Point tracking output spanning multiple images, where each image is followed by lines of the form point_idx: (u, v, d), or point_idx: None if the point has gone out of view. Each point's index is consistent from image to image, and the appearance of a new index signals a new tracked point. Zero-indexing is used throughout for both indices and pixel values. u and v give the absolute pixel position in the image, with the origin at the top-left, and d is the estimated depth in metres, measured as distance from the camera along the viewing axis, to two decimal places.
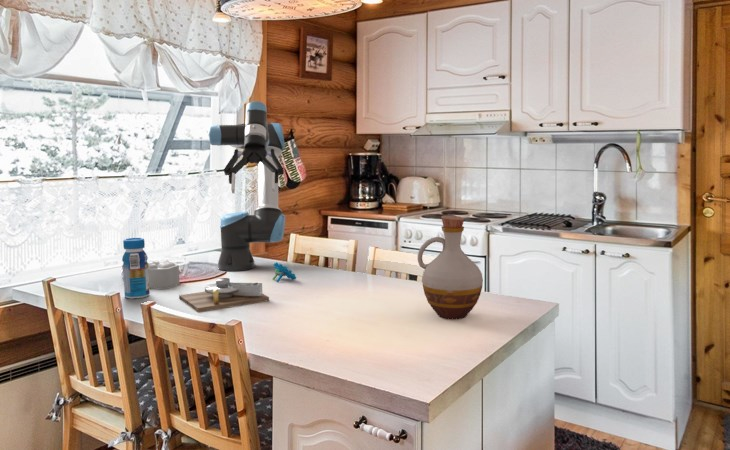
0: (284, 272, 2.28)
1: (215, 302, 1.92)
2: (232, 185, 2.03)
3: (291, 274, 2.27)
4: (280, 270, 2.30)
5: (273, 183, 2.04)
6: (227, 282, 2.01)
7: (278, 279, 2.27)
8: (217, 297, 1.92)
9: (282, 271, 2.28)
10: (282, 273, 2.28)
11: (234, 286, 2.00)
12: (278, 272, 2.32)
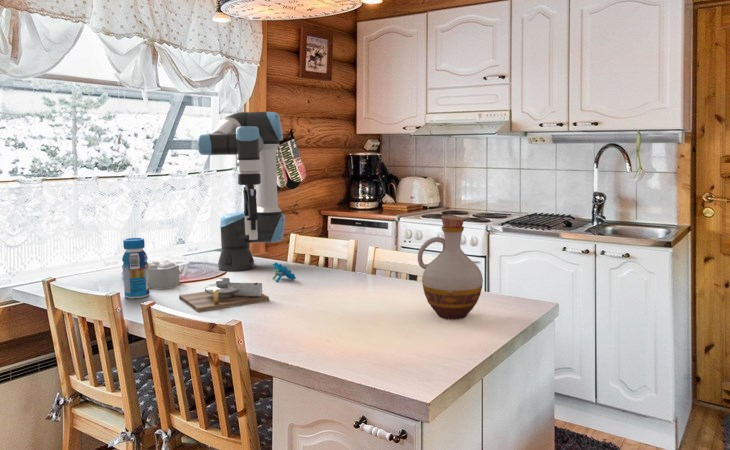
0: (284, 272, 2.28)
1: (215, 302, 1.92)
2: (245, 230, 2.10)
3: (291, 274, 2.27)
4: (280, 270, 2.30)
5: (249, 233, 1.99)
6: (227, 282, 2.01)
7: (278, 279, 2.27)
8: (217, 297, 1.92)
9: (282, 271, 2.28)
10: (282, 273, 2.28)
11: (234, 286, 2.00)
12: (278, 272, 2.32)
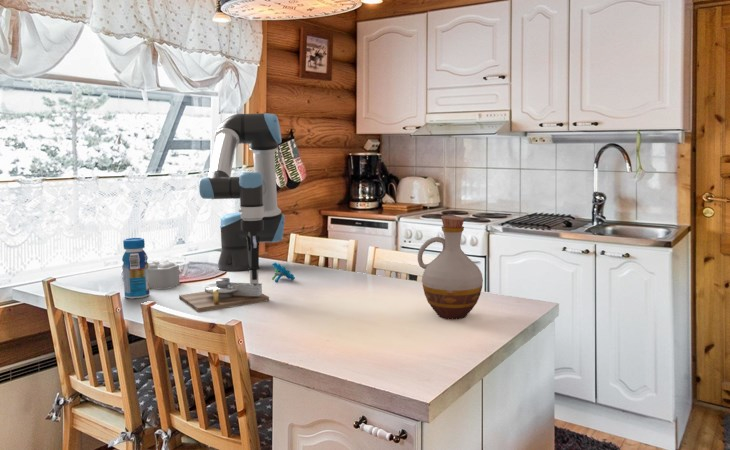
0: (283, 272, 2.28)
1: (215, 302, 1.92)
2: None
3: (290, 274, 2.27)
4: (279, 270, 2.30)
5: None
6: (227, 282, 2.00)
7: (277, 279, 2.27)
8: (217, 297, 1.92)
9: (281, 271, 2.28)
10: (281, 273, 2.28)
11: (234, 286, 2.00)
12: (277, 272, 2.32)
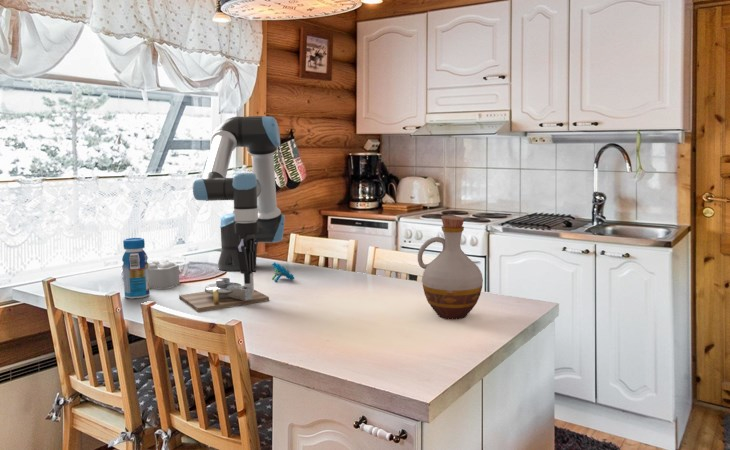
0: (282, 272, 2.28)
1: (215, 302, 1.92)
2: None
3: (289, 274, 2.27)
4: (279, 270, 2.30)
5: None
6: (224, 283, 2.00)
7: (276, 279, 2.27)
8: (217, 297, 1.92)
9: (280, 271, 2.28)
10: (280, 273, 2.27)
11: (227, 287, 1.98)
12: (277, 272, 2.32)
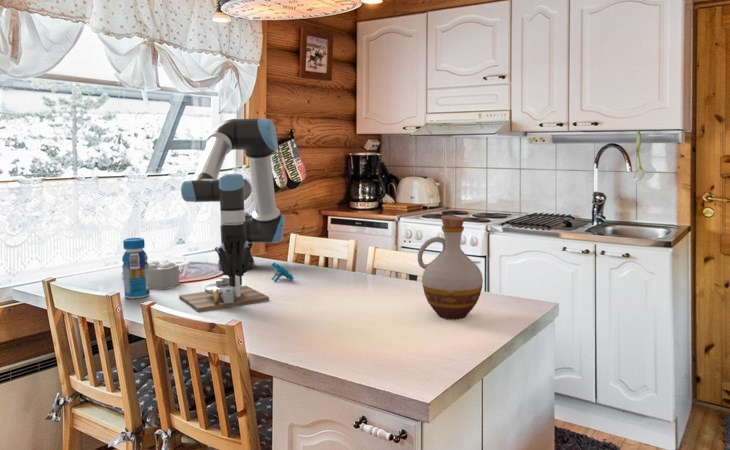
0: (282, 272, 2.28)
1: (215, 302, 1.92)
2: None
3: (288, 274, 2.27)
4: (278, 270, 2.30)
5: None
6: (220, 283, 2.00)
7: (275, 279, 2.27)
8: (217, 297, 1.92)
9: (280, 271, 2.28)
10: (280, 273, 2.27)
11: (220, 288, 1.97)
12: (277, 272, 2.32)
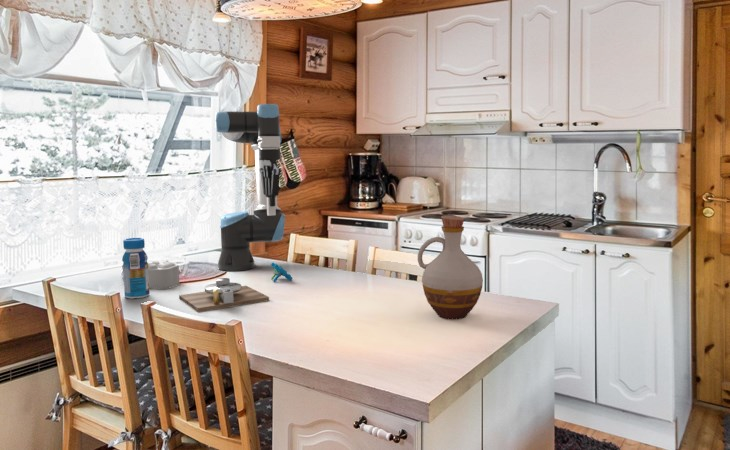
0: (281, 272, 2.28)
1: (215, 302, 1.92)
2: (267, 211, 2.15)
3: (287, 275, 2.27)
4: (277, 270, 2.30)
5: (268, 210, 2.14)
6: (220, 283, 2.00)
7: (274, 279, 2.27)
8: (217, 297, 1.92)
9: (279, 271, 2.28)
10: (278, 273, 2.27)
11: (220, 288, 1.97)
12: (276, 272, 2.32)
